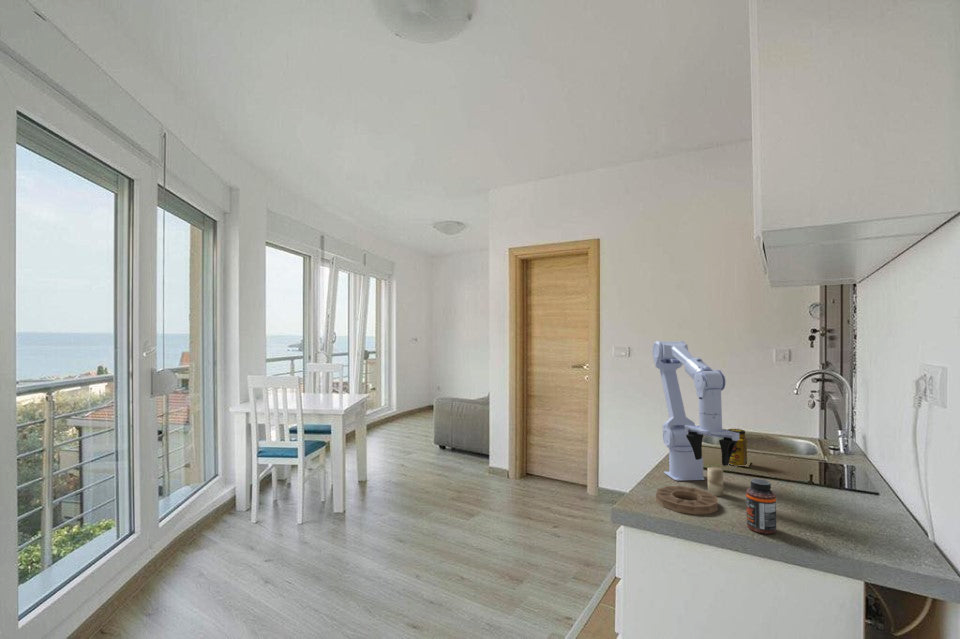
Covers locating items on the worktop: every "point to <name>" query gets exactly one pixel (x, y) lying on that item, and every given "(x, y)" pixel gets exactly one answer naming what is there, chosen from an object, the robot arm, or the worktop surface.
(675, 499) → the walnut ring
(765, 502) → the supplement bottle
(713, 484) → the beech peg
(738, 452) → the condiment
